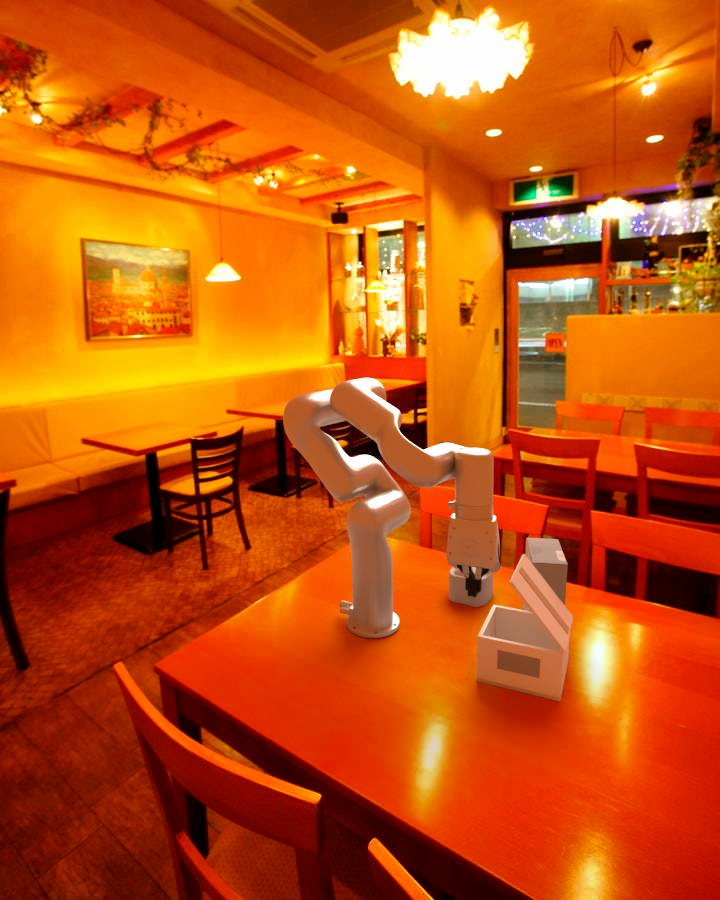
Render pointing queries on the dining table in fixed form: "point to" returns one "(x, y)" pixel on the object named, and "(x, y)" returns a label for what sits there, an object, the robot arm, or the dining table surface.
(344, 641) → the dining table surface
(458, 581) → the lumpy-topped squat cylinder
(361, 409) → the robot arm
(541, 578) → the lid flap
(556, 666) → the carton
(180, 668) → the dining table surface
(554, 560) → the hard drive box
